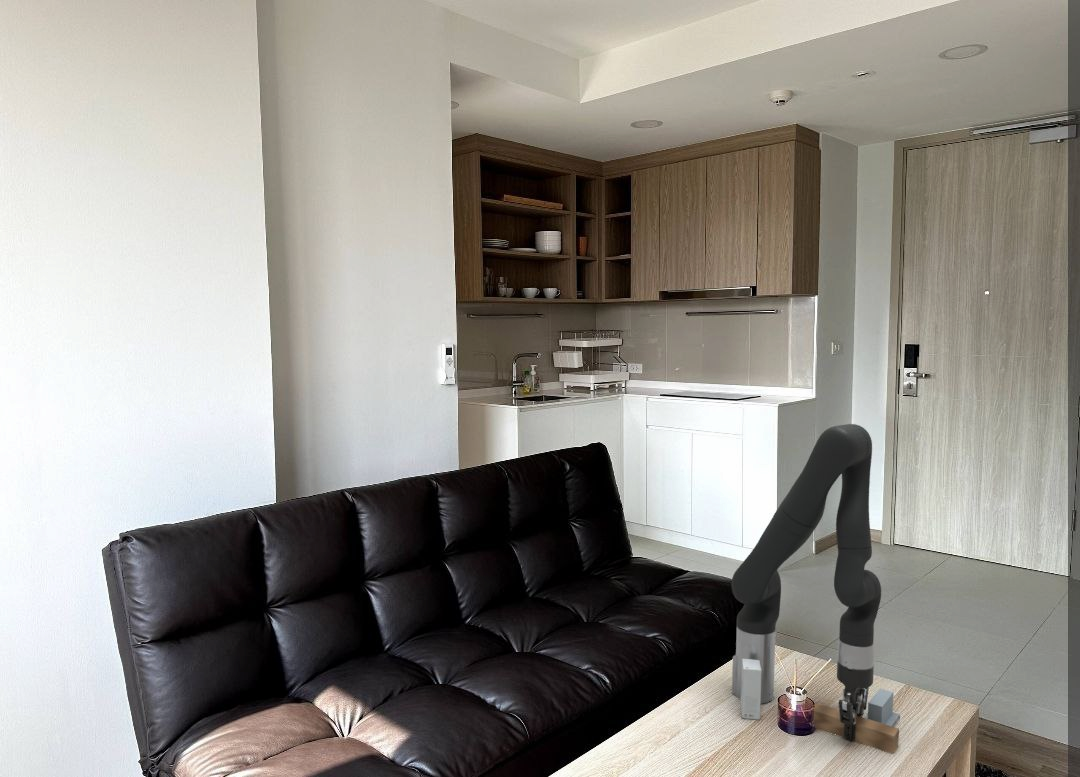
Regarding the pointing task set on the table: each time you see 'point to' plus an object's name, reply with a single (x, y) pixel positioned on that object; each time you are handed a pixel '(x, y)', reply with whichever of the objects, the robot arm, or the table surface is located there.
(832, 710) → the walnut batten
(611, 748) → the table surface
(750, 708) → the skincare box
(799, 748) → the table surface
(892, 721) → the ridge block
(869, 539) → the robot arm
